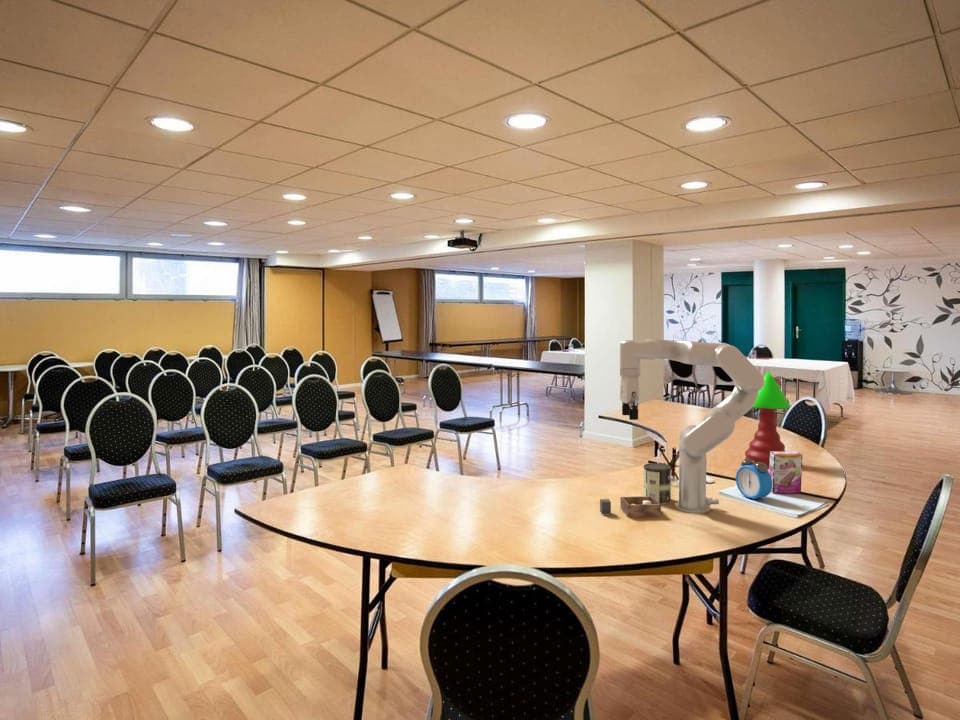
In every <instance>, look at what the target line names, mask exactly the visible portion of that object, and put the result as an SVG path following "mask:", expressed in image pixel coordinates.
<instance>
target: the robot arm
mask: <svg viewBox="0 0 960 720" xmlns="http://www.w3.org/2000/svg"><path fill="white" fill-rule="evenodd" d="M657 359H659V360H669V361H670V360H671V361H675V362H680V363H681V364H686V365H694V366H695V365H696V366H707V367H719V368H721V369H722V370H723V371H724V372H725V373H726V375H728V377H730V379H731V380H732V381H733V383H734V387H733V390H732V392H731V393H730V394H729V395H727V396H726V398H724V399H723V400H721V402H719V403H718V404H717V405H715V406H714V407H712V408H710V409H709V410H707V412H706V413H704V416H703V420H702V422H701V423H699V425H695V424H689V425H687V426H684V427H683V428H682V429H681V431H680V432H679V435H678V449H679V451H678V452H679V453H678V455H679V458H678V460H679V461H678V462H679V468H678V472H679V473H678V476H679V477H678V478H679V479H678V482H679V483H678V501H676V502H675V503H674V508H676V509H677V510H678V511H681V512H685V513H691V514H692V513H693V514H707V513H710V511H711V505H719V504H720V501H719V499H718V498H715V499H714V498H713V497H707V453H709V452H711V451H712V450H713V449H715V448H716V447H717V446H719V445H720V444H721V443H723V442H724V441H726V440H728V438H729V437H730V436H731V435H732V433H734V430H735V427H736V422H737V421H739V420H741V418H742V417H744V416H745V414H747V413H749V412H750V410H751V409H753V408H752V407H753V405H754V404H755V402H756V399H757V396H758V391H760V390H761V389H762V388H763V386H764V376H763V373H762V372H761V371H759V369H758V368H756V366H755V365H754V364H753V363H752V362H751V361H750V360H749V359H748V358H747V357H746V356H745V355H744V354H743V353H742V352H741V351H740V349H739V348H737V347H736V346H734V345H731V344H728V343H717V342H705V341H704V342H702V341H691V340H671V339H670V340H669V339H659V338H658V339H657V338H647V339H645V340H641V341H639V340H635V339H625V340H622V341H620V344H619V377H620V385H619V386H620V387H619V399H620V401H621V405H622V407H621V413H622V414H621V415H622V416H629V420H630V421H636V420H639V402H640V384H639V383H640V382H639V378H640V377H641V360H647V361H654V360H657Z"/></svg>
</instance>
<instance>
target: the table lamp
mask: <svg viewBox="0 0 960 720" xmlns="http://www.w3.org/2000/svg"><path fill="white" fill-rule="evenodd" d="M763 377H764V386H763V388H762V389H761V390H760V391H758V396H757V399H756V402H755V404H754V405H753V407H752V408H751V409H759V413H758V418H759V422H758V425H757V430H756V432H755V433H754V435H753V436H754V437H753V439H752V440H751V441H750V442H749V444H748V445H749V447H748V449H746V450H745V451H744V456H745V458H744V459H743V460H745V459H751V460H753V461H754V462H755V463H753V464H756V463H758V462H762V463H765V464H766V465H767V467H768V469H769V466H770V452H771V451H772V452H786V447H785V444H784V443H783V442H782V441H781V436H780V434H779V432H778V431H777V430H778V429H777V427H778V426H777V423H776V419H777V414H776V410H789V409H790V408H791V407H792V406H791V405H790V403H789V401H788V399H787V398H786V395H785V394H784V393H783V391H782V388H780V385H779V384H778V382H777V381H776V379H775V378H774V377H773V375H772V374H771V372H770V371H769V370H768V371H767V372H766V374H765V375H764V376H763ZM750 465H751V464H750Z"/></svg>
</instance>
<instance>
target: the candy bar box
mask: <svg viewBox="0 0 960 720" xmlns="http://www.w3.org/2000/svg"><path fill="white" fill-rule="evenodd" d="M802 471H803V454H802V453H800V452H798V451H785V452H772V451H771V452H770V466H769V468H768V472H769V473H770V475H771V478H772V490H771V492H770V493H772V492H773V493H772V494H786V493H787V494H791V495H794V494H795V495H796V494H799V495H801V494H802V477H803V475H802V474H803V473H802Z"/></svg>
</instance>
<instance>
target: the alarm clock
mask: <svg viewBox="0 0 960 720" xmlns="http://www.w3.org/2000/svg"><path fill="white" fill-rule="evenodd" d="M744 459H745V458H744ZM744 459H743V460H742V461H741V462H740V467H739V468H738V470H737V472H736V474H735V485H736V487H737V489H738V490H739V492H740V494H742V495H744V496H743V497H745V496H746V497H745V498H747V497H749V498H752V499H751V500H755V499H757V500H758V499H761V498H766V497H768V496H769V495H770V494H771V493H772V492H771V490H772V478H771V475H770V473H769V468H768V467H767V465H766V464H765V463H762V462H758V463H756V464H753V463H755V462H754V461H753V460H751V459H745V460H744ZM750 464H751V465H750ZM749 498H748V499H749Z"/></svg>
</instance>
